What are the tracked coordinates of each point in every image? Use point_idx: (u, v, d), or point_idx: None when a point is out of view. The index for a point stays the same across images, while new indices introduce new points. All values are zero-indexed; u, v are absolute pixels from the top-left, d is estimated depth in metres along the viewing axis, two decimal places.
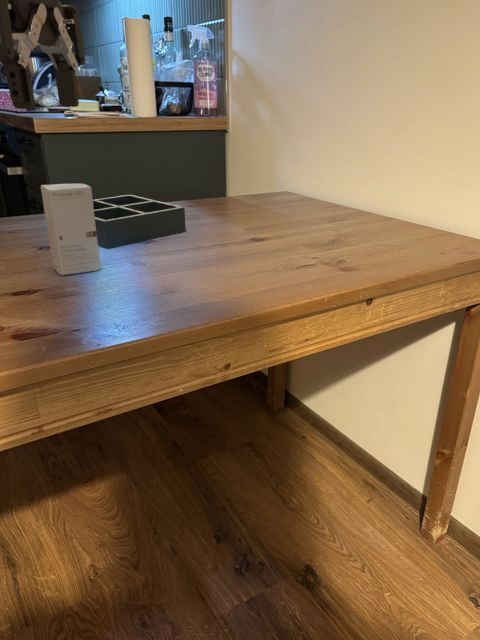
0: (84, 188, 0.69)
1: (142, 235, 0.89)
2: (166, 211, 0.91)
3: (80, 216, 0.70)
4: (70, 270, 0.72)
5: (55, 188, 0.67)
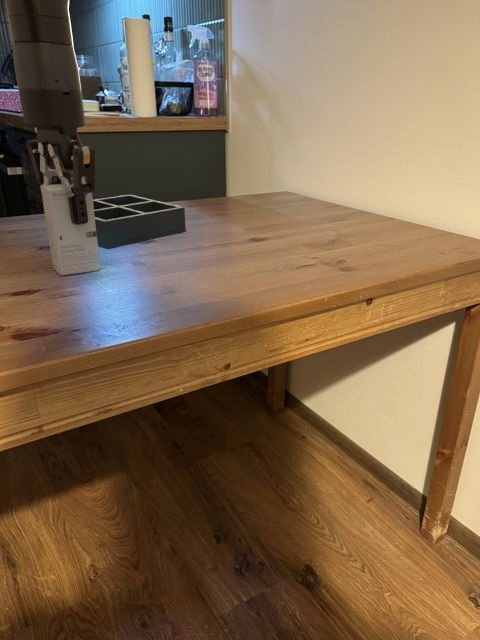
0: None
1: (142, 235, 0.89)
2: (166, 211, 0.91)
3: None
4: (70, 270, 0.72)
5: (55, 188, 0.67)
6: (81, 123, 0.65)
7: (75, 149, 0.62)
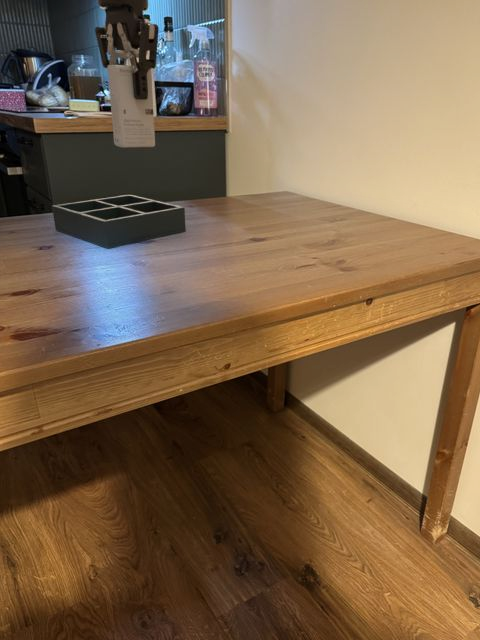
0: None
1: (142, 235, 0.89)
2: (166, 211, 0.91)
3: None
4: (130, 143, 0.83)
5: (122, 65, 0.78)
6: (146, 5, 0.76)
7: (143, 23, 0.73)
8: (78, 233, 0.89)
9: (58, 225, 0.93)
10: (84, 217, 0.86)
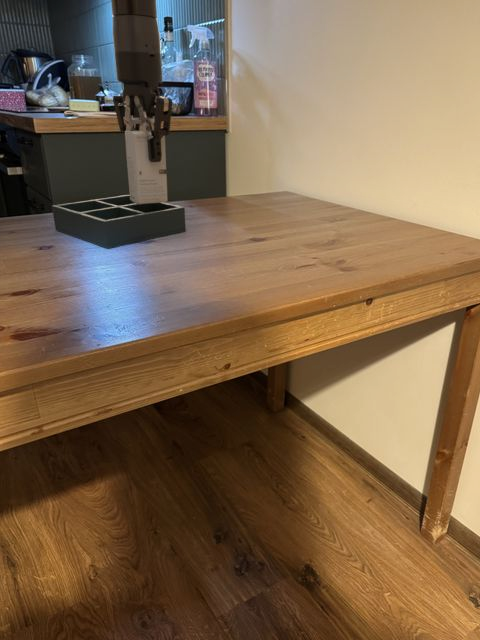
0: None
1: (142, 235, 0.89)
2: (166, 211, 0.91)
3: None
4: (145, 200, 0.91)
5: (138, 132, 0.86)
6: (160, 80, 0.83)
7: (158, 99, 0.81)
8: (78, 233, 0.89)
9: (58, 225, 0.93)
10: (84, 217, 0.86)
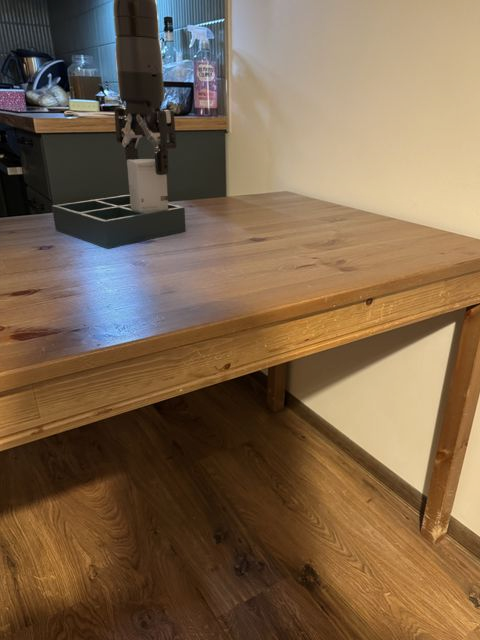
0: None
1: (142, 235, 0.89)
2: (166, 211, 0.91)
3: (156, 184, 0.91)
4: None
5: (140, 161, 0.88)
6: (162, 99, 0.85)
7: (160, 111, 0.82)
8: (78, 233, 0.89)
9: (58, 225, 0.93)
10: (84, 217, 0.86)
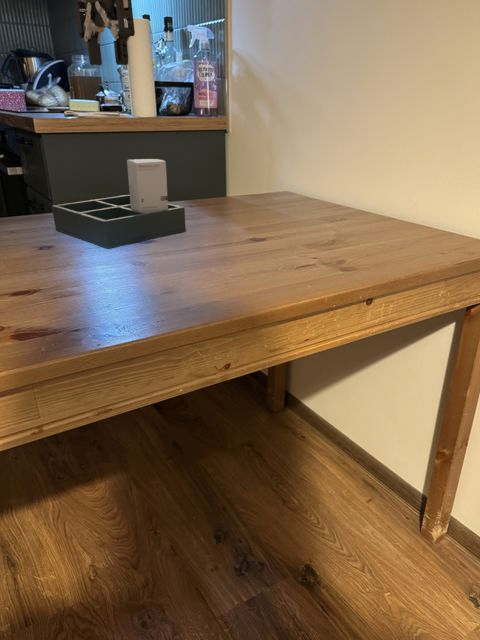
0: (161, 162, 0.90)
1: (142, 235, 0.89)
2: (166, 211, 0.91)
3: (156, 184, 0.91)
4: None
5: (140, 161, 0.88)
6: None
7: None
8: (78, 233, 0.89)
9: (58, 225, 0.93)
10: (84, 217, 0.86)
